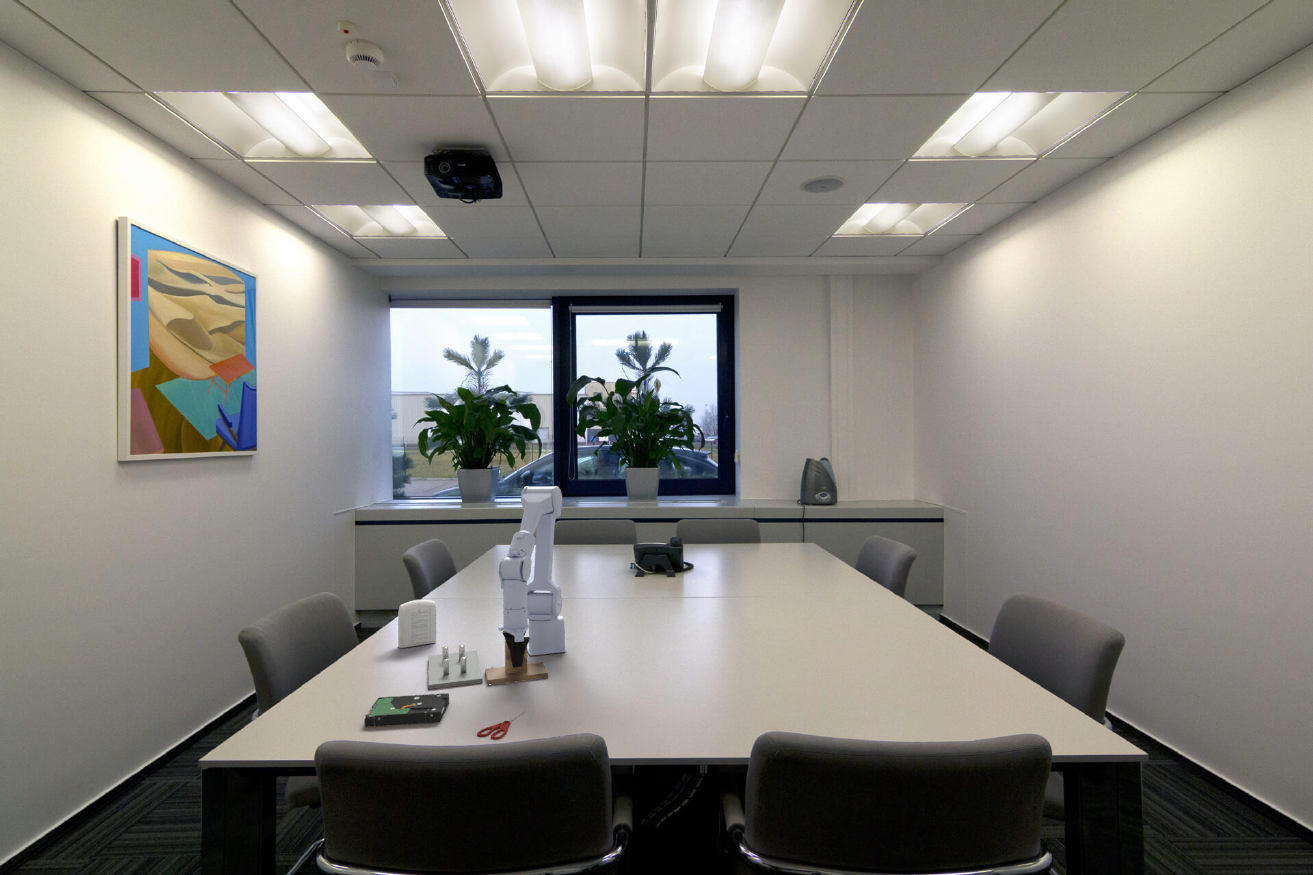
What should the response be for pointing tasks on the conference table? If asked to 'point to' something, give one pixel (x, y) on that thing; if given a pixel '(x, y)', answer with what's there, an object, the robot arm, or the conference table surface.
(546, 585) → the robot arm
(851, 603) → the conference table surface
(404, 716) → the disk drive
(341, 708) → the conference table surface
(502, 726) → the scissors
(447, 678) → the peg stand
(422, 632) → the white upright slab
